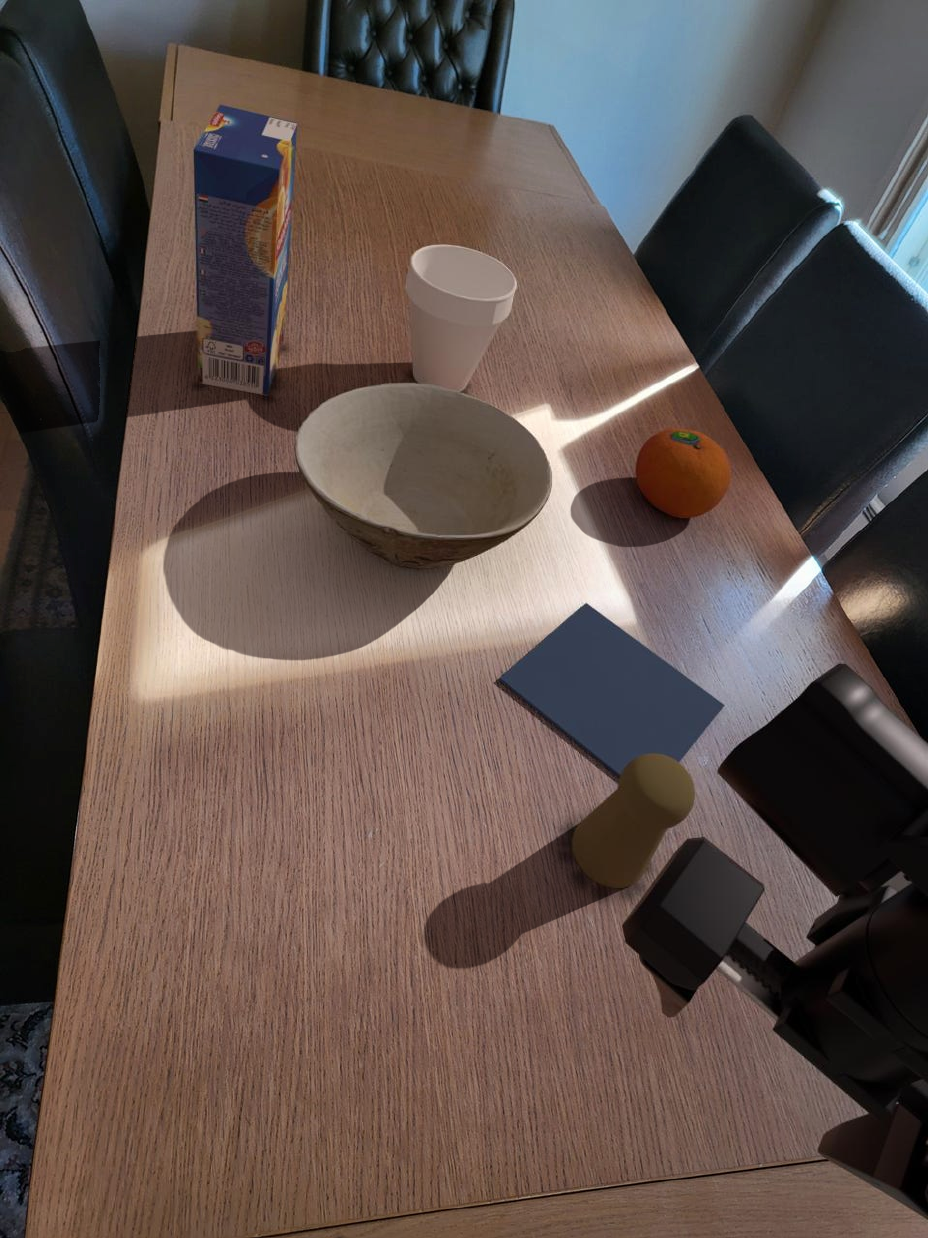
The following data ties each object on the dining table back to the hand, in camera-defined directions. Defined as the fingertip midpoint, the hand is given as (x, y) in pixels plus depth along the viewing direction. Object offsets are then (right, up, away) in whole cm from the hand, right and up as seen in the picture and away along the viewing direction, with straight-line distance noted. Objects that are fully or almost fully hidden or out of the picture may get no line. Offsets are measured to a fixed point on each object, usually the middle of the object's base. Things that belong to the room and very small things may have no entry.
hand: (743, 1074), depth 42 cm
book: (-1, +16, +32) cm, 36 cm away
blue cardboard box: (-40, +53, +53) cm, 85 cm away
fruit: (+9, +37, +53) cm, 65 cm away
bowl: (-20, +32, +41) cm, 55 cm away
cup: (-17, +53, +60) cm, 81 cm away
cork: (-3, +5, +22) cm, 23 cm away
